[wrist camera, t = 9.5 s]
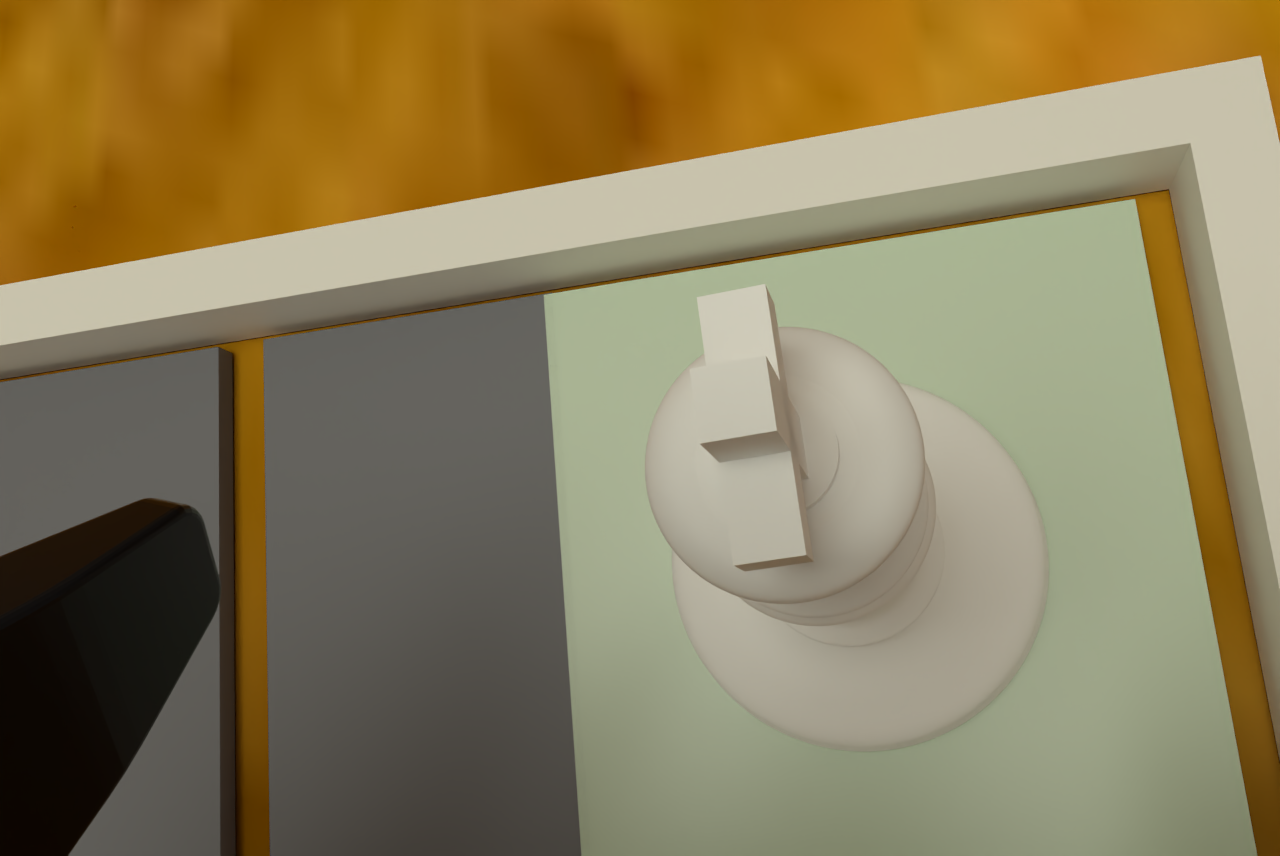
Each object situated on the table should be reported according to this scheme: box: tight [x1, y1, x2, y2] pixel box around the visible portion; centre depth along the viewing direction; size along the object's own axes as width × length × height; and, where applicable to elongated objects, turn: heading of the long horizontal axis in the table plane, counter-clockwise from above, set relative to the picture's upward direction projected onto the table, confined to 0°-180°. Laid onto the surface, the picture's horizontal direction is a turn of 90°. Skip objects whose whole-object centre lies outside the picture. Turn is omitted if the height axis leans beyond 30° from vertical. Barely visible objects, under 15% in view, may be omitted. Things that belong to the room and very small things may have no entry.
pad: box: [544, 199, 1257, 856], centre depth 16 cm, size 8×9×1 cm
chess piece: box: [645, 284, 1049, 752], centre depth 11 cm, size 5×5×10 cm
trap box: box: [0, 56, 1280, 856], centre depth 18 cm, size 30×11×2 cm, turn 95°
